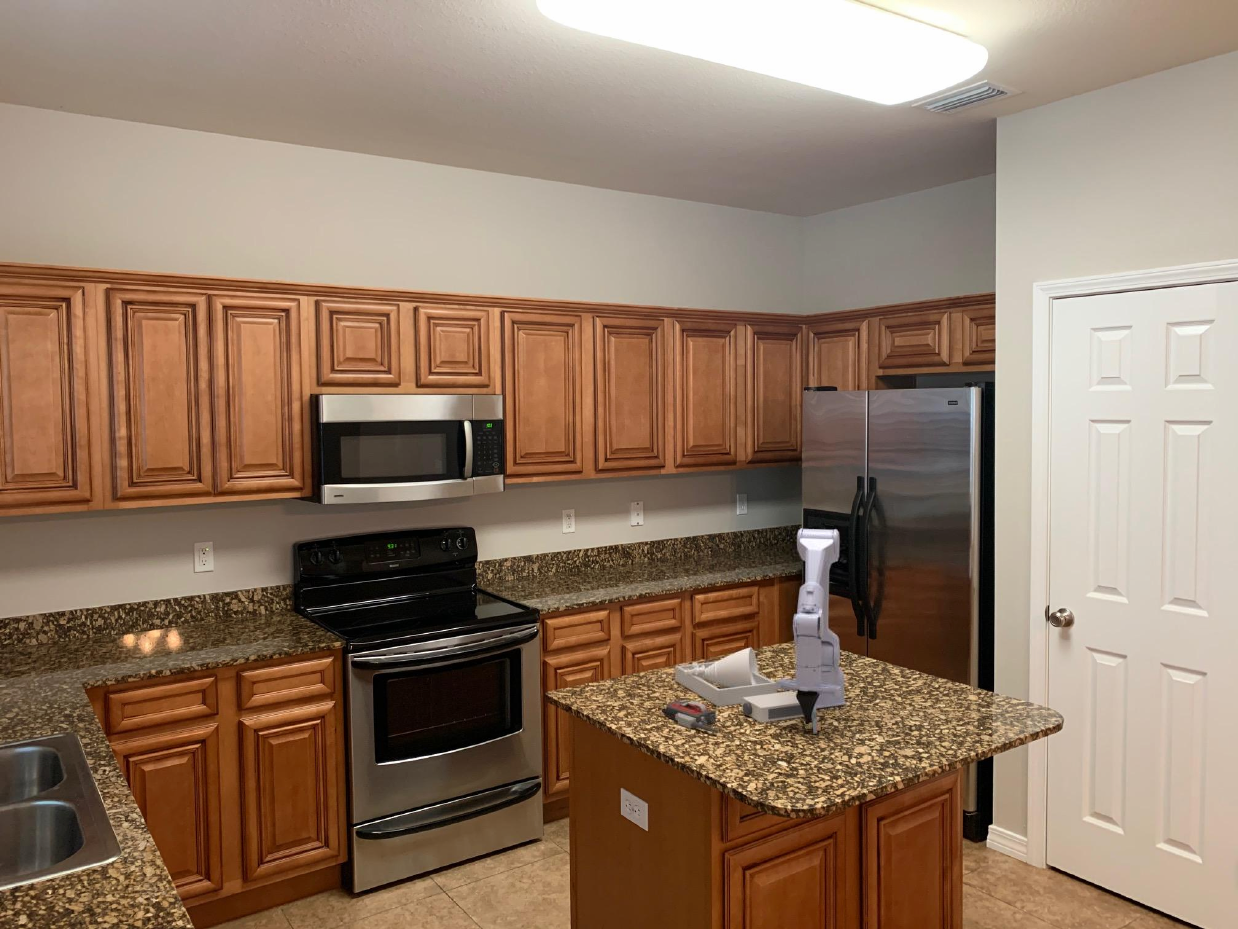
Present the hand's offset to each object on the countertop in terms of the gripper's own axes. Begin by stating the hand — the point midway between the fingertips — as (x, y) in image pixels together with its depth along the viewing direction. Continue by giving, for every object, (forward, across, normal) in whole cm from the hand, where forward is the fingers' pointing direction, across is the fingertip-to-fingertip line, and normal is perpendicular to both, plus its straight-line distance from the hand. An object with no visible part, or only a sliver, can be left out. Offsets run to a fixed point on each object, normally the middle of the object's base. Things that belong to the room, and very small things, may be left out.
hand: (808, 723), depth 214 cm
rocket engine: (+1, -29, +22) cm, 36 cm away
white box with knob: (+1, -10, +8) cm, 13 cm away
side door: (+1, +1, +3) cm, 4 cm away
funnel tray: (+1, -29, +22) cm, 36 cm away
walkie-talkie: (+2, -25, -7) cm, 26 cm away
